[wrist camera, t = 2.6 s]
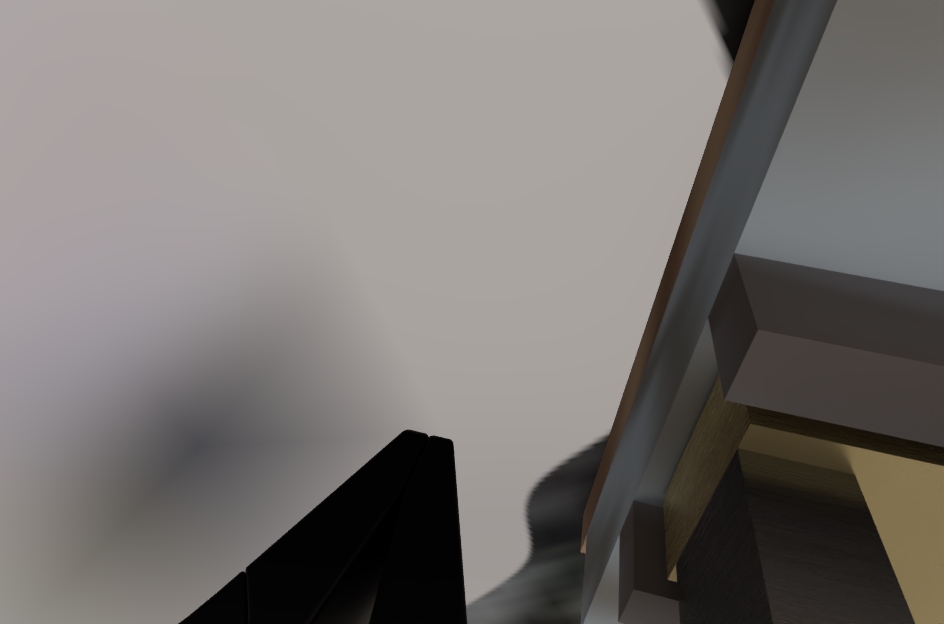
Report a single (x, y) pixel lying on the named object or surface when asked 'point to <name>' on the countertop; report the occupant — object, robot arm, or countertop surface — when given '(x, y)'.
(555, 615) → the countertop surface
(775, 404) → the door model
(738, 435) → the yellow and black block
